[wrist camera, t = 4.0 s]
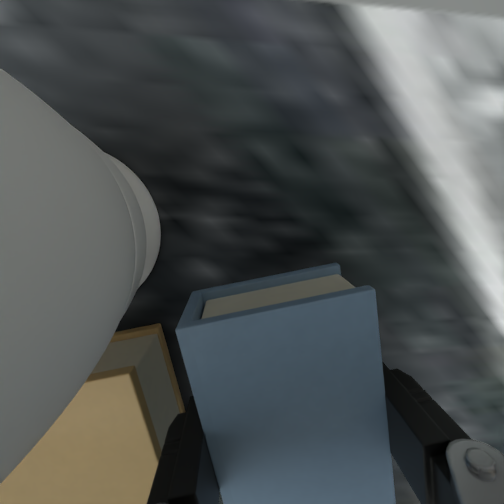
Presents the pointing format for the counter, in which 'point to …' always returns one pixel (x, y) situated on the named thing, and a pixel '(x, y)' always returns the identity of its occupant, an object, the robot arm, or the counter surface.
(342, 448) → the pocket book
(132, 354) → the big book
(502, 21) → the counter surface
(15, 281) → the jar
